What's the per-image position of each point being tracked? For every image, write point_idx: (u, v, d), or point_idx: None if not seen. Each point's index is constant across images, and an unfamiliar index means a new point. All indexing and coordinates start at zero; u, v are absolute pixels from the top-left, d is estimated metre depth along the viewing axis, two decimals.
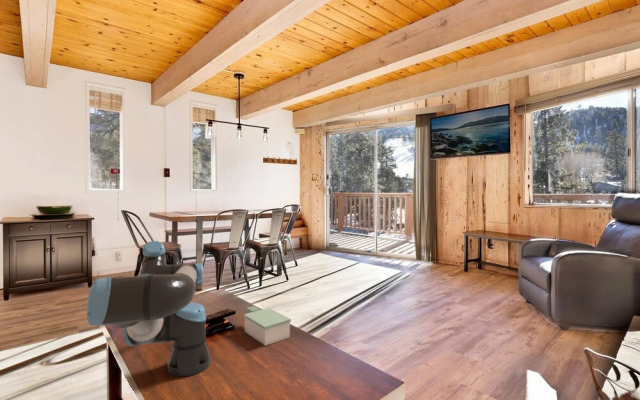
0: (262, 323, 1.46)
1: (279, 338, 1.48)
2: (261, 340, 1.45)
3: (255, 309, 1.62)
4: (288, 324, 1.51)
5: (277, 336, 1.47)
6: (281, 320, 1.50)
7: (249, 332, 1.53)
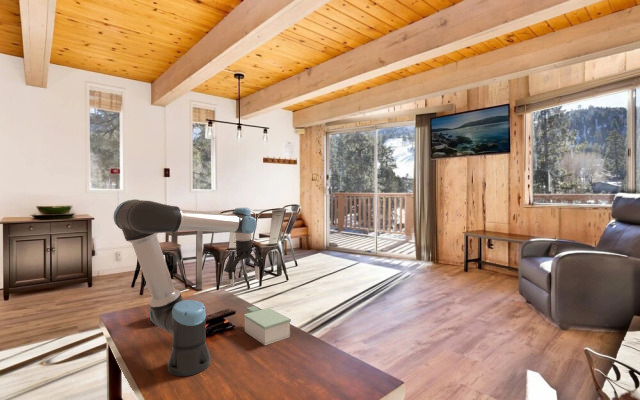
0: (262, 323, 1.46)
1: (279, 338, 1.48)
2: (261, 340, 1.45)
3: (255, 309, 1.62)
4: (288, 324, 1.51)
5: (277, 336, 1.47)
6: (281, 320, 1.50)
7: (249, 332, 1.53)
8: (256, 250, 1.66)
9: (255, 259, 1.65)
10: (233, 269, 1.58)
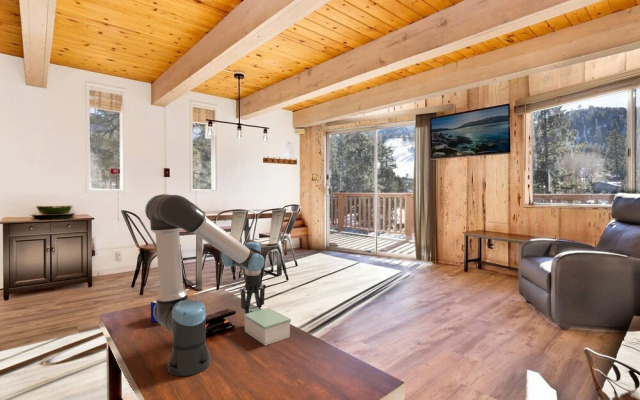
0: (262, 323, 1.46)
1: (279, 338, 1.48)
2: (261, 340, 1.45)
3: (255, 309, 1.62)
4: (288, 324, 1.51)
5: (277, 336, 1.47)
6: (281, 320, 1.49)
7: (249, 332, 1.53)
8: (264, 287, 1.66)
9: (259, 297, 1.64)
10: (249, 305, 1.61)
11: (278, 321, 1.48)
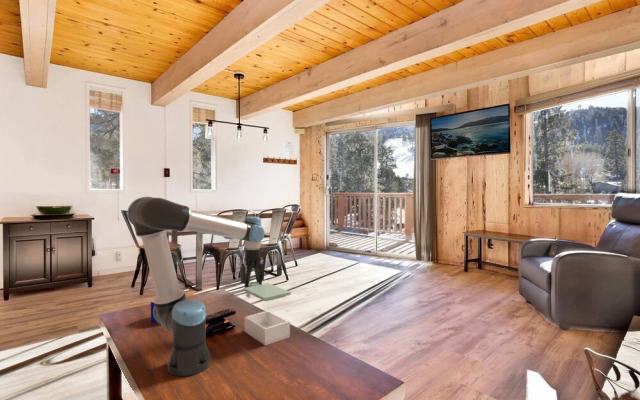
0: (262, 295, 1.45)
1: (279, 338, 1.48)
2: (261, 340, 1.45)
3: (255, 283, 1.62)
4: (288, 324, 1.51)
5: (277, 336, 1.47)
6: (281, 293, 1.49)
7: (249, 332, 1.53)
8: (263, 263, 1.65)
9: None
10: None
11: (278, 293, 1.48)
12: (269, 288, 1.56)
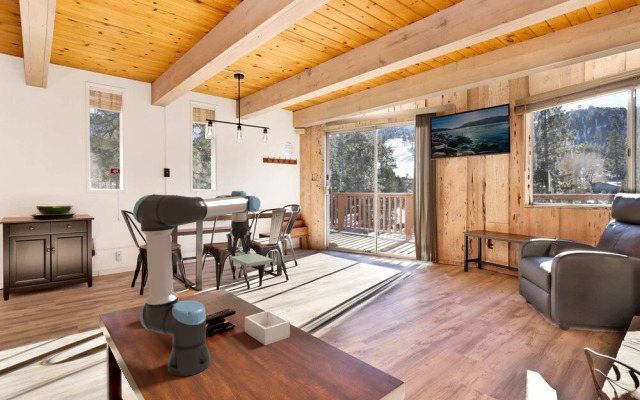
0: (245, 261, 1.56)
1: (279, 338, 1.48)
2: (261, 340, 1.45)
3: (241, 253, 1.73)
4: (288, 324, 1.51)
5: (277, 336, 1.47)
6: (264, 260, 1.59)
7: (249, 332, 1.53)
8: (250, 234, 1.76)
9: (245, 243, 1.74)
10: (235, 250, 1.71)
11: (261, 260, 1.58)
12: (254, 256, 1.66)
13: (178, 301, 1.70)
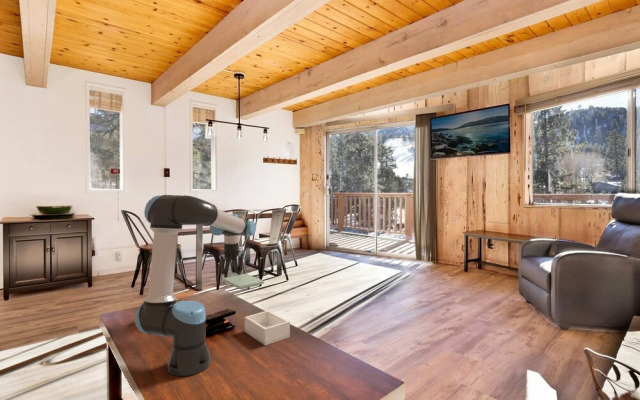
0: (237, 284, 1.63)
1: (279, 338, 1.48)
2: (261, 340, 1.45)
3: (233, 274, 1.80)
4: (288, 324, 1.51)
5: (277, 336, 1.47)
6: (255, 282, 1.67)
7: (249, 332, 1.53)
8: (241, 255, 1.83)
9: (237, 264, 1.81)
10: (227, 271, 1.78)
11: (252, 282, 1.65)
12: (245, 278, 1.73)
13: (178, 301, 1.70)
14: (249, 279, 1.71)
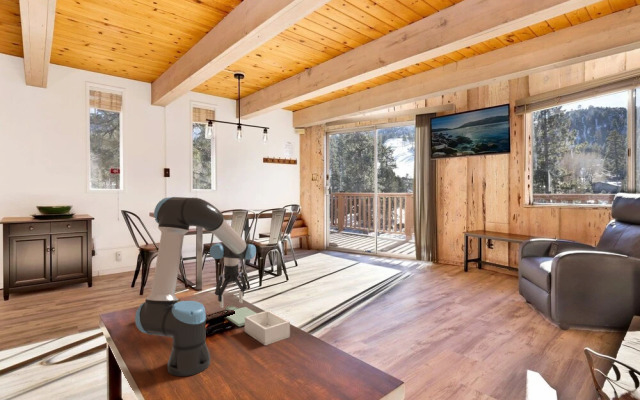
0: (237, 320, 1.64)
1: (279, 338, 1.48)
2: (261, 340, 1.45)
3: (233, 307, 1.80)
4: (288, 324, 1.51)
5: (277, 336, 1.47)
6: None
7: (249, 332, 1.53)
8: (242, 275, 1.84)
9: (240, 283, 1.83)
10: (222, 292, 1.76)
11: None
12: (245, 312, 1.74)
13: (178, 301, 1.70)
14: (248, 314, 1.72)
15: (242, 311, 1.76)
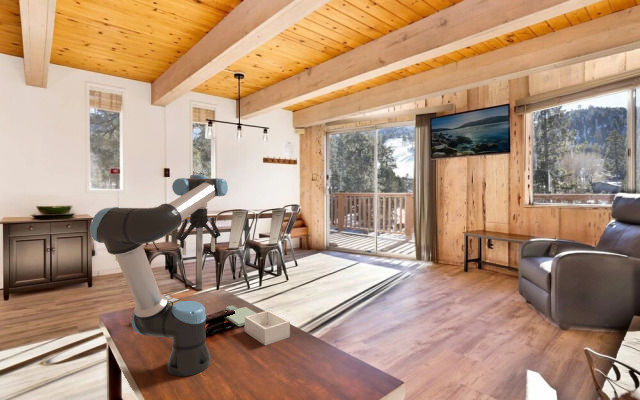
0: (237, 320, 1.64)
1: (279, 338, 1.48)
2: (261, 340, 1.45)
3: (233, 307, 1.80)
4: (288, 324, 1.51)
5: (277, 336, 1.47)
6: None
7: (249, 332, 1.53)
8: (212, 220, 1.59)
9: (211, 230, 1.59)
10: (185, 237, 1.51)
11: None
12: (245, 312, 1.74)
13: (178, 301, 1.70)
14: (248, 314, 1.72)
15: (242, 311, 1.76)
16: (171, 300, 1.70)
